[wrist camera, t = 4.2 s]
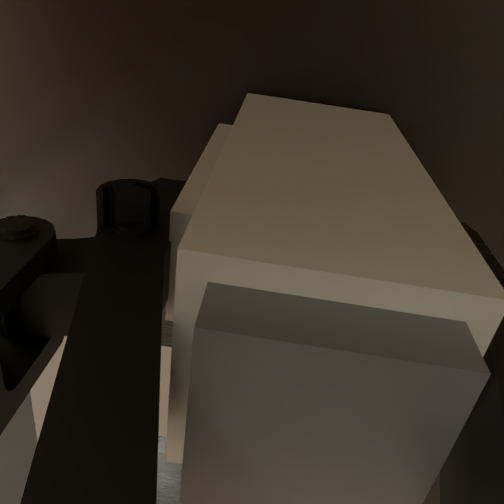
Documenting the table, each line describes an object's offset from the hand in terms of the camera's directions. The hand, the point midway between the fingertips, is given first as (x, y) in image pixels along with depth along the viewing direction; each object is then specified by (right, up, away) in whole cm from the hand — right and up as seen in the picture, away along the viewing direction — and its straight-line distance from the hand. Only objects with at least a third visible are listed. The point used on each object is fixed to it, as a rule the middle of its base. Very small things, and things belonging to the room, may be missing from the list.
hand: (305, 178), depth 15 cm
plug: (0, 0, +1) cm, 1 cm away
